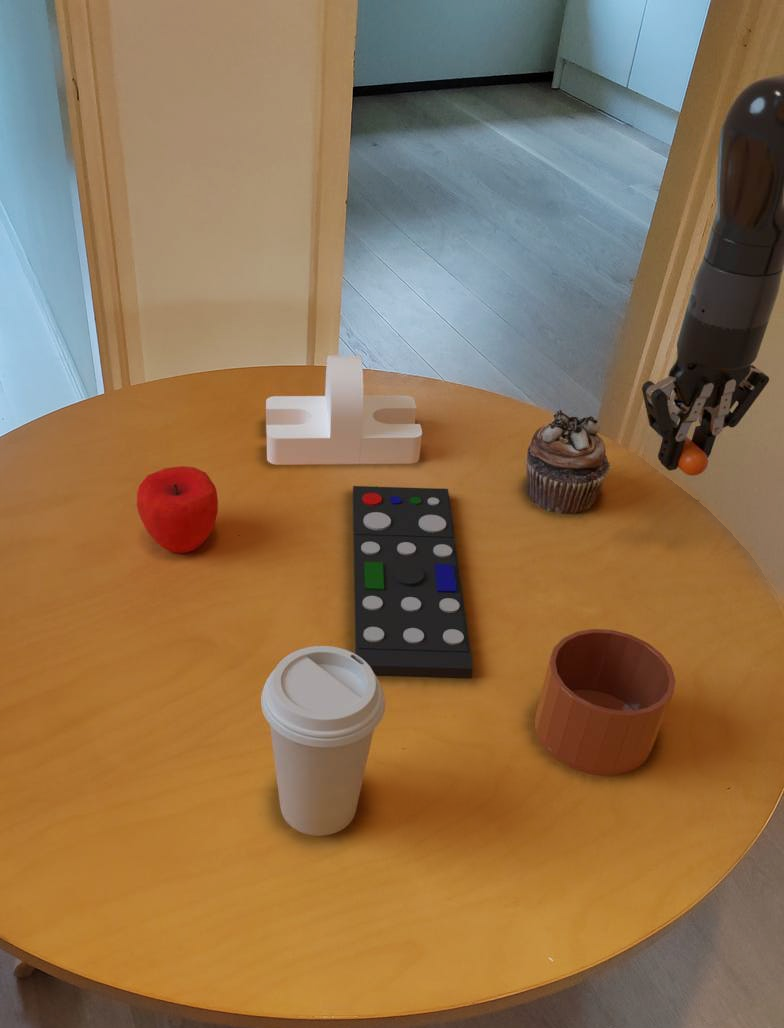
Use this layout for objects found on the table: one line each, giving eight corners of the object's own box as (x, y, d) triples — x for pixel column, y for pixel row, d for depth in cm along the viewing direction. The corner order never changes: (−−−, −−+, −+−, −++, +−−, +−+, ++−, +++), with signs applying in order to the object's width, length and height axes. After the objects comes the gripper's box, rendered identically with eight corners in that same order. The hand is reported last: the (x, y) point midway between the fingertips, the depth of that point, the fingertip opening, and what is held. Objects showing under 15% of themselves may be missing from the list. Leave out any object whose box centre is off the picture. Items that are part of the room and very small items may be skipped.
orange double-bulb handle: (698, 484, 107) (718, 464, 105) (684, 474, 105) (704, 453, 104) (656, 445, 112) (675, 425, 111) (642, 434, 110) (661, 414, 109)
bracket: (410, 421, 134) (418, 340, 126) (420, 464, 126) (429, 380, 119) (265, 422, 133) (265, 340, 125) (267, 465, 126) (266, 381, 118)
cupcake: (516, 512, 119) (531, 437, 112) (523, 467, 126) (537, 395, 119) (599, 524, 118) (619, 450, 111) (602, 479, 125) (620, 406, 118)
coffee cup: (392, 832, 85) (408, 709, 75) (284, 865, 83) (285, 741, 72) (348, 751, 92) (357, 627, 82) (247, 779, 89) (244, 654, 79)
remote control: (446, 499, 121) (448, 485, 120) (470, 679, 99) (473, 664, 97) (352, 496, 121) (353, 482, 120) (355, 675, 99) (356, 661, 97)
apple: (158, 511, 118) (153, 453, 113) (230, 524, 116) (228, 466, 111) (128, 557, 112) (121, 497, 106) (204, 572, 110) (200, 512, 105)
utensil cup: (671, 726, 95) (695, 665, 89) (619, 795, 89) (641, 734, 83) (569, 674, 99) (586, 613, 94) (513, 736, 93) (528, 674, 88)
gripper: (687, 334, 92) (642, 494, 104) (817, 315, 95) (759, 472, 107) (643, 300, 98) (605, 455, 109) (767, 283, 101) (717, 436, 112)
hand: (681, 463), depth 108 cm, fingers closed on orange double-bulb handle, 2 cm apart
